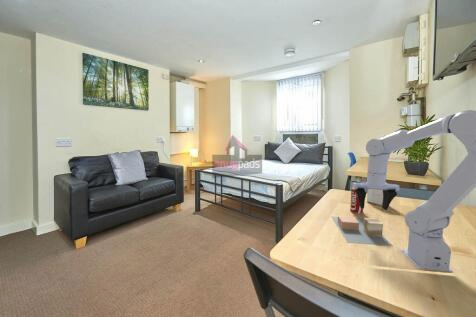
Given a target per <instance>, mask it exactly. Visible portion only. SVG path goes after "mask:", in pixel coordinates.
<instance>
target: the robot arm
mask: <svg viewBox="0 0 476 317" xmlns="http://www.w3.org/2000/svg"><path fill="white" fill-rule="evenodd" d="M393 131H394V132H393V133H390V134H388V135H386V134H385V135H381V136H380V138H379V139H377V138H371V139H369V140H368V141H367V142H366V144H365V150H366V153H367V154H368V162H367V173H366V175H367V176H366V182H365V181H364V182H352V187H353V188H354V189H355V191H356V193H357V195H358V199H359V203H360V207H361V208H362V209H363V210H364V209H365V204H366V198H367V193H368V192H366V190H368V189H375V190H383V203H382V206H381V207H382V209H383V210H384V211H388V209H389V206H390V204H391V202H393V200H394V198H396V196H397V195H398V192H399V191H400V185H399V184H396V183H395V184H394V183H393V184H392V183H388V184H386V183H387V182H386V180H387V171H388V164H389V163H388V162H389V159H390V155H391V154H392V153H394V152H397V151H401V150H403V149H407V148H411V147H412V146H413V145H414V144H415V141H419V140H424V139H427V138H430V137H433V136H438V135H441V134H452V135H453V136H455V137H456V139H458V141H460V143H462V144H463V145H464V147H465V149H466V152H467V155H466V156H465V157H464V158H463V159H462V160H461V161H460V163H459V164H458V165H457V166H456V167H455V169H454V170H452V172H451V173H450V174H449V176H447V178H445V180H444V181H443V182H442V183H441V184H440V186H439V187H438V188H437V189H436V190H435V191H434V193H433V194H432V195H431V196H430V197H429V198H428V200H426V201H424V202H422V203H421V204H419V205H417V207H416V208H415V209H413V210H411V211H408V212H407V213H406V214H405V215H404V222H405V225H406V226H407V228H408V241H407V243H408V244H407V249H402V248H401V249H400V251H401V252H402V253H403V254H404V256H406V258H408V259H409V260H410V261H411V262H412V263H413V264H414V265H415V266H416V267H417V268H418V269H420V270H428V271H429V270H430V271H439V272H451V273H453V269H451V268H450V262H451V255H452V249H451V248H450V246H449V244H447V243H446V241H445V240H444V236H443V234H444V229H446V228H447V227H449V225H450V223H451V218H452V217H453V216H454V214H455V213H454V209H455V208H456V207H457V206H459V204H460V203H462V201H463V200H465V198H466V197H467V196H468V195H469V194H471V192H472V191H473V190H474V189H475V188H476V110H474V109H466V110H462V111H459V112H457V113H453V114H448V115H446V116H444V117H442V118H438V119H437V120H433V121H432V122H429V123H427V124H424V125H422V126H419V127H417V128H414V129H412V130H407V129H394V130H393Z"/></svg>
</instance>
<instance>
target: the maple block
mask: <svg viewBox="0 0 476 317" xmlns="http://www.w3.org/2000/svg"><path fill="white" fill-rule="evenodd" d="M363 218H364V228H363V230H364V232H365V233H366V234H367V235H368V236H375V237H382V235H383V233H384V232H383V230H384V223H383V222H382V221H381V220H380V219H378V218H375V217H374V218H373V217H363Z"/></svg>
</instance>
